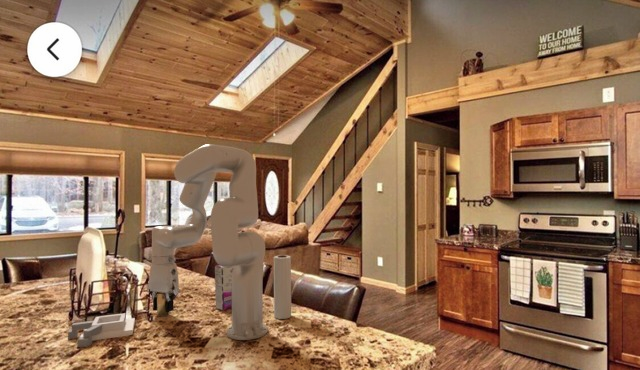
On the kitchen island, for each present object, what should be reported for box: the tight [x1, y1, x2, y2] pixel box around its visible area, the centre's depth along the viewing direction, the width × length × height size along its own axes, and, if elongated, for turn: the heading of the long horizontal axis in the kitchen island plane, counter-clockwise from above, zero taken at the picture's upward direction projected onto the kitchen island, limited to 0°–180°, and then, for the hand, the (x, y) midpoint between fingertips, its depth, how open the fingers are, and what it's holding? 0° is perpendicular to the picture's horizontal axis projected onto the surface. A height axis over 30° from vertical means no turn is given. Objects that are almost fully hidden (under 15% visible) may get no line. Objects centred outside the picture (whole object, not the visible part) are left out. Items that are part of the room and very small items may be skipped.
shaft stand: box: [67, 312, 136, 348], centre depth 114 cm, size 17×18×4 cm
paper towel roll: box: [273, 254, 292, 320], centre depth 130 cm, size 7×6×21 cm
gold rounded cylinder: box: [155, 292, 171, 318], centre depth 133 cm, size 5×5×8 cm
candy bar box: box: [214, 264, 234, 311], centre depth 142 cm, size 11×5×16 cm, turn 143°
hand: (163, 309), depth 133 cm, fingers open, 5 cm apart
